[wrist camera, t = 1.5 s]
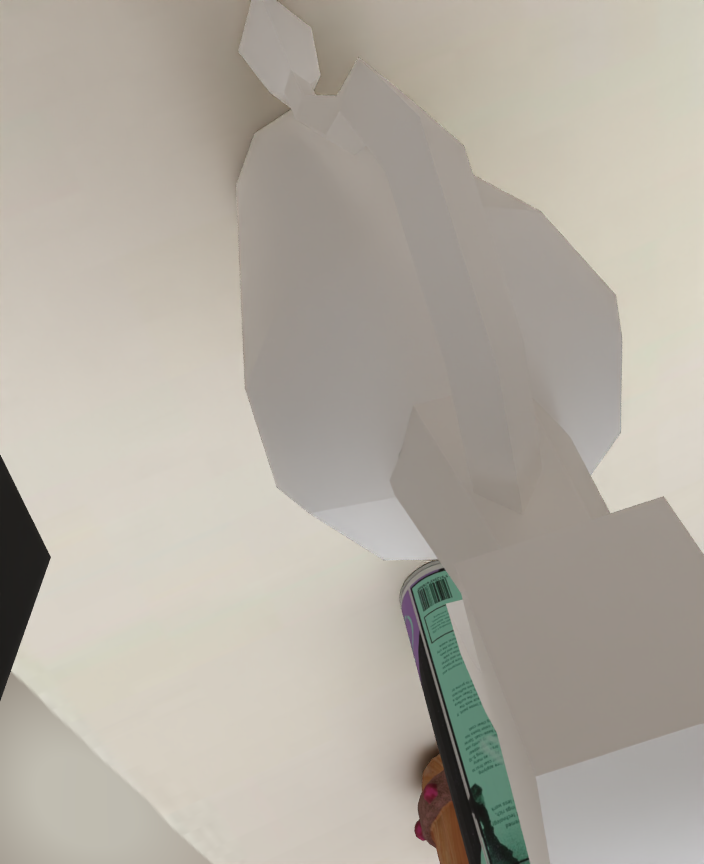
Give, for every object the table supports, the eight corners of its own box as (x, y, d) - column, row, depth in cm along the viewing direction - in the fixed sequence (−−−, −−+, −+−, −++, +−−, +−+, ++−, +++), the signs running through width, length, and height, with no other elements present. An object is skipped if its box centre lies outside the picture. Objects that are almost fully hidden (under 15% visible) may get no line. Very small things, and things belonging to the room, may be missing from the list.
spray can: (383, 612, 40) (483, 1044, 24) (427, 547, 38) (573, 975, 21) (459, 631, 42) (602, 1043, 25) (505, 570, 40) (697, 979, 23)
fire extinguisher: (367, -47, 23) (1800, -632, 2) (427, 282, 29) (886, 963, 9) (176, 7, 23) (-513, 39, 2) (279, 324, 29) (374, 1101, 9)
